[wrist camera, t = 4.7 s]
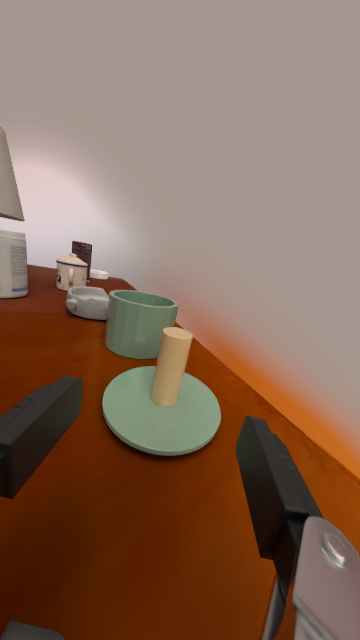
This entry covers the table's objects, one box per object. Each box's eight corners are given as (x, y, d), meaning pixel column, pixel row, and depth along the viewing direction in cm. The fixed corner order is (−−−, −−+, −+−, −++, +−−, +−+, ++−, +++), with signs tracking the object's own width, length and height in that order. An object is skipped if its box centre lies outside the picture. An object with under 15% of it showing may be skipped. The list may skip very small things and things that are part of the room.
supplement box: (90, 282, 84) (92, 244, 79) (78, 281, 80) (80, 242, 76) (81, 278, 89) (83, 243, 84) (69, 277, 85) (71, 240, 81)
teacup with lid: (57, 284, 66) (58, 250, 63) (86, 288, 70) (88, 256, 67) (52, 291, 56) (53, 250, 53) (86, 295, 60) (89, 257, 57)
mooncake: (112, 279, 108) (112, 272, 107) (100, 279, 97) (101, 272, 96) (92, 274, 109) (93, 268, 109) (78, 275, 98) (79, 267, 97)
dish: (84, 302, 53) (85, 284, 51) (133, 311, 53) (135, 294, 52) (48, 314, 39) (48, 290, 37) (115, 327, 39) (118, 304, 38)
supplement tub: (19, 289, 51) (17, 231, 47) (34, 298, 47) (34, 235, 43) (-34, 289, 43) (-42, 219, 39) (-22, 300, 39) (-29, 222, 35)
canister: (92, 335, 34) (96, 288, 31) (143, 328, 42) (150, 291, 40) (129, 366, 27) (137, 308, 24) (181, 350, 35) (191, 306, 33)
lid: (79, 394, 20) (85, 316, 18) (164, 364, 29) (175, 311, 27) (157, 500, 12) (185, 389, 10) (237, 415, 22) (261, 347, 19)
